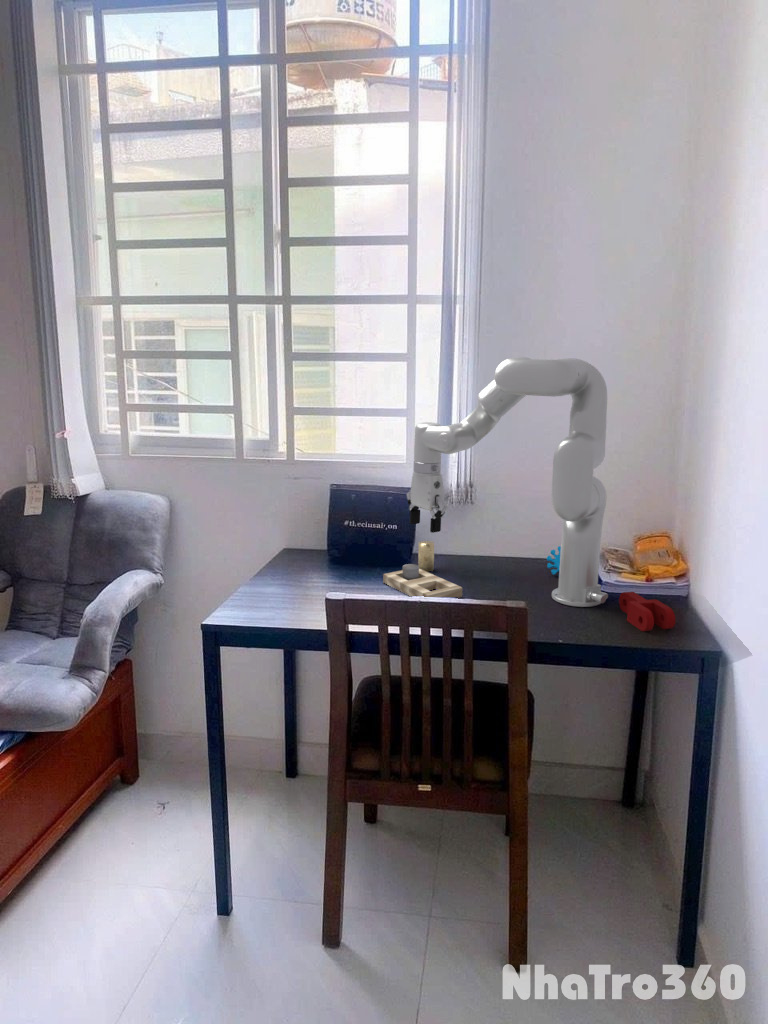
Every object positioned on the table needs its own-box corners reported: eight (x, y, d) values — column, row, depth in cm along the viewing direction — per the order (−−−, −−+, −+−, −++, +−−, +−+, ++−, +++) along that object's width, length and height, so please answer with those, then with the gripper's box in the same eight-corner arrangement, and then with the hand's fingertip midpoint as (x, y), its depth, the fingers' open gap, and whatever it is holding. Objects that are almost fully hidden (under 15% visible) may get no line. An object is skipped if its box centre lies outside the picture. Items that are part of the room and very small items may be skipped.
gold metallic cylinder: (436, 570, 208) (437, 543, 206) (424, 573, 206) (424, 545, 204) (427, 566, 212) (427, 540, 210) (415, 569, 210) (415, 542, 208)
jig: (462, 596, 187) (462, 578, 186) (427, 605, 181) (427, 585, 180) (416, 575, 204) (416, 558, 202) (383, 582, 198) (383, 565, 197)
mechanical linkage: (674, 632, 166) (676, 611, 165) (645, 634, 164) (647, 613, 163) (635, 607, 181) (637, 588, 180) (609, 609, 179) (611, 590, 178)
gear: (542, 571, 203) (551, 541, 207) (542, 581, 208) (550, 551, 212) (583, 581, 199) (591, 550, 204) (581, 590, 204) (589, 560, 209)
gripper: (457, 472, 197) (454, 533, 201) (419, 461, 211) (417, 519, 215) (435, 474, 193) (432, 537, 197) (398, 463, 207) (396, 522, 211)
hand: (424, 527), depth 206 cm, fingers open, 9 cm apart
